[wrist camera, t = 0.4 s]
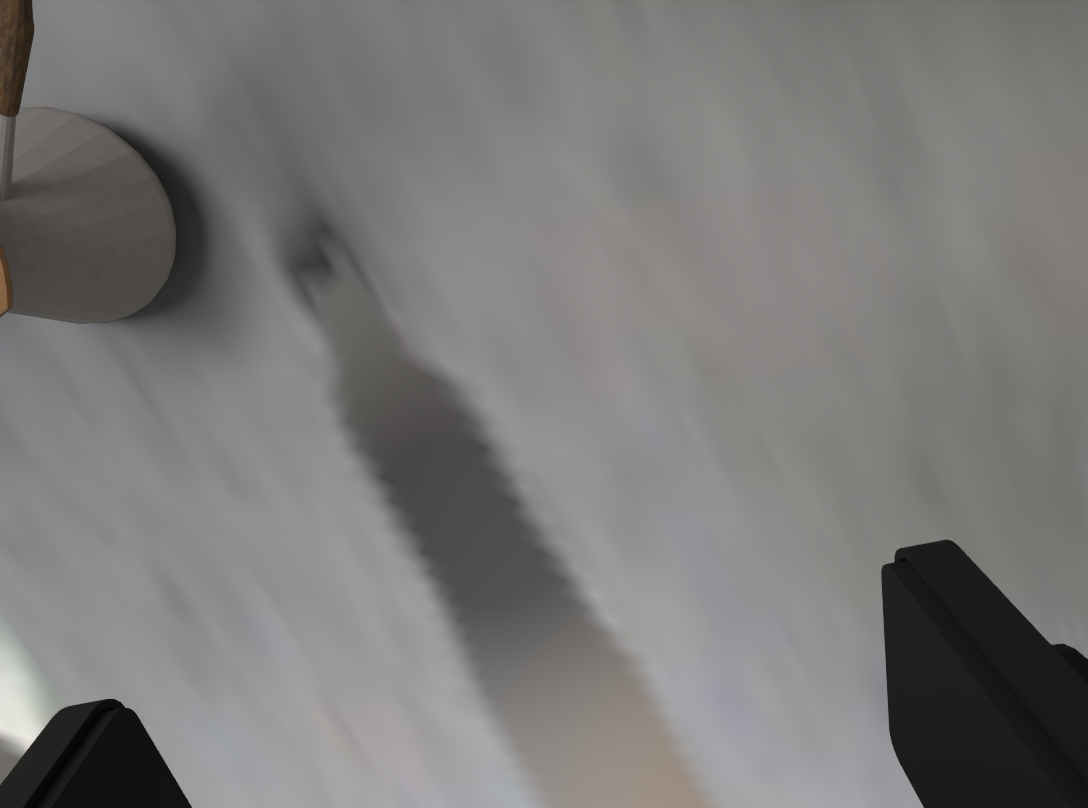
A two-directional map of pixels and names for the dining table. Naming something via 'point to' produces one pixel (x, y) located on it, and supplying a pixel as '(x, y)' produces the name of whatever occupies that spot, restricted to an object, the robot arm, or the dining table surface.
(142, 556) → the dining table surface
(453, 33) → the dining table surface
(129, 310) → the coffee pot
